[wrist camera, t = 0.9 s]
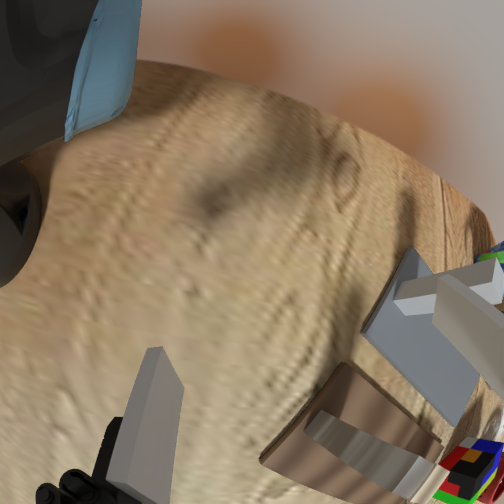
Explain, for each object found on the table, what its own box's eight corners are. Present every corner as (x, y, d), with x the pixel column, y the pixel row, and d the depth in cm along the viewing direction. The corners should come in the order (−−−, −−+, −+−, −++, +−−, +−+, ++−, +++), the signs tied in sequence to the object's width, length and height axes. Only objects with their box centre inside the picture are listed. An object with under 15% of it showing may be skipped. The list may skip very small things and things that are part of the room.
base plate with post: (360, 333, 28) (473, 330, 14) (407, 248, 33) (496, 212, 19) (451, 426, 29) (519, 437, 15) (481, 359, 33) (544, 355, 19)
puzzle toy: (466, 436, 29) (504, 442, 20) (461, 468, 28) (494, 477, 18) (436, 465, 26) (476, 478, 17) (431, 496, 25) (466, 510, 15)
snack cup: (494, 260, 41) (529, 249, 31) (494, 308, 37) (532, 301, 28) (462, 234, 38) (504, 217, 28) (462, 291, 35) (510, 280, 25)
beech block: (383, 486, 23) (409, 501, 17) (408, 453, 25) (437, 464, 19) (400, 492, 23) (425, 505, 17) (423, 462, 25) (449, 471, 19)
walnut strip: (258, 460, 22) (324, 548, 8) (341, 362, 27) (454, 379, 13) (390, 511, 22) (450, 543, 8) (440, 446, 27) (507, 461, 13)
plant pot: (490, 440, 31) (526, 445, 20) (474, 482, 28) (506, 490, 16) (467, 458, 28) (508, 466, 17) (448, 502, 25) (483, 514, 14)
